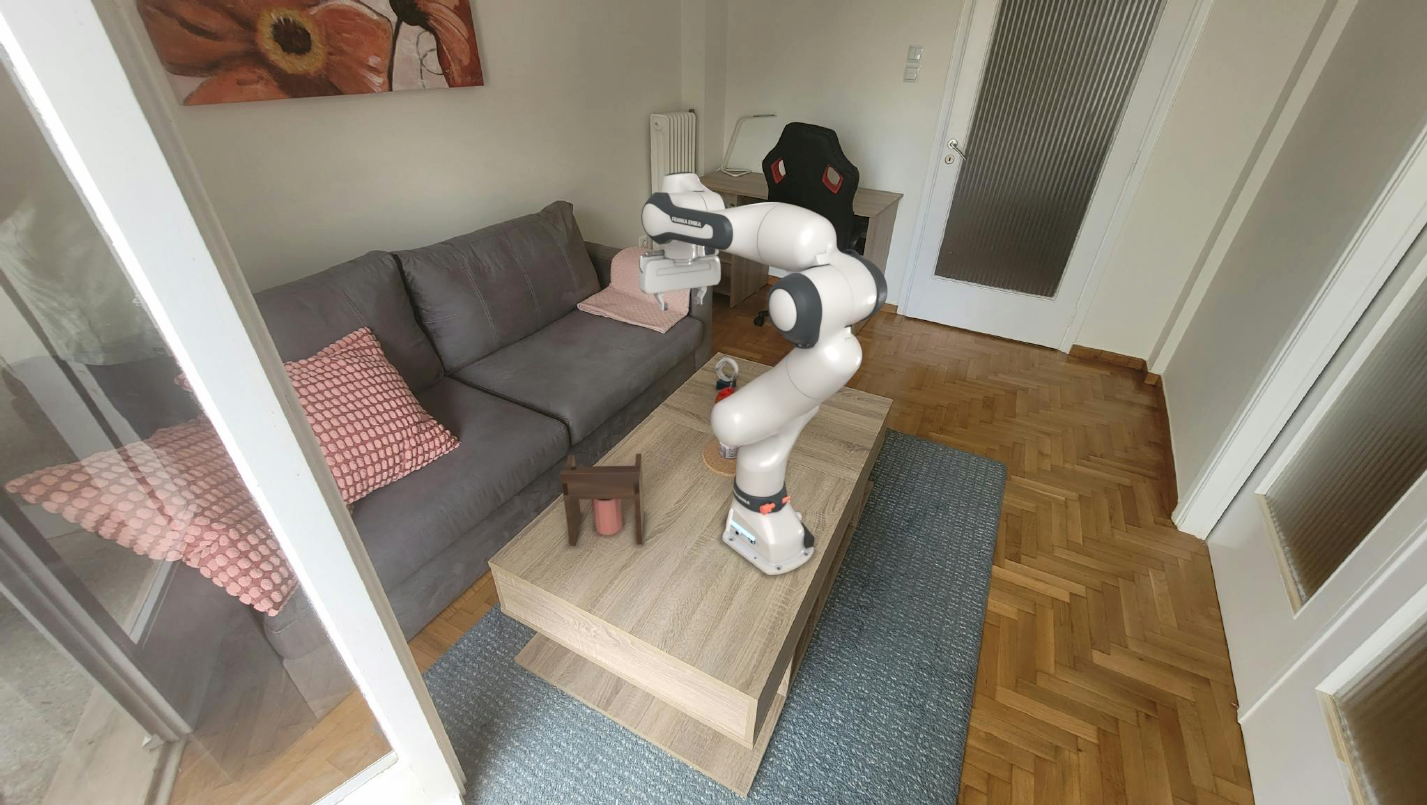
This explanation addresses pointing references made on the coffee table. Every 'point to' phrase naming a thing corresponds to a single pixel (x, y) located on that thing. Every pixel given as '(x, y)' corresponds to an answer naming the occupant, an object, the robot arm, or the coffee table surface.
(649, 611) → the coffee table surface
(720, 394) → the red clay folk toy
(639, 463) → the dark wooden stand
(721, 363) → the watch
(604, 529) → the cup
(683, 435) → the coffee table surface
